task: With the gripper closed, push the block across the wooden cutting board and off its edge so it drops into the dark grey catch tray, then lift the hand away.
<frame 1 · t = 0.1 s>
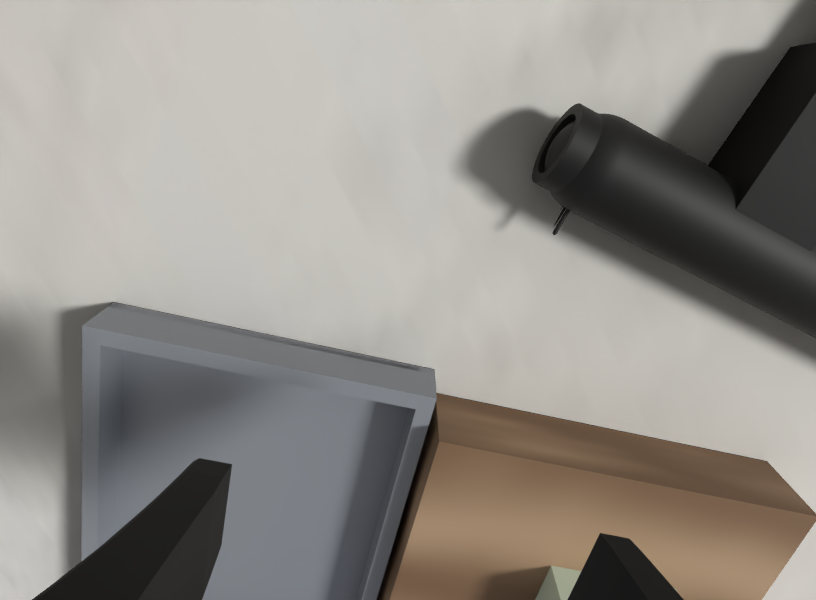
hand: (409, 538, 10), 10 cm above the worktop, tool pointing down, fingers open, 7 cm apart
wooden cutting board: (548, 554, 24), on the worktop
catch tray: (251, 500, 23), on the worktop
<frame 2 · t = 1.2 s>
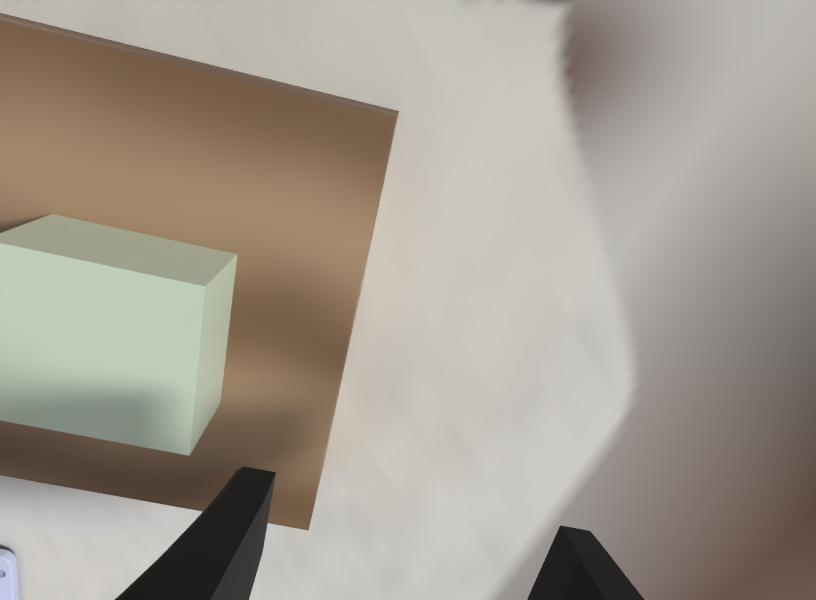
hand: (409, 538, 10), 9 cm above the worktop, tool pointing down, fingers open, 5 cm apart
wooden cutting board: (153, 273, 18), on the worktop
block: (142, 315, 16), point 3 cm above the worktop, touching wooden cutting board
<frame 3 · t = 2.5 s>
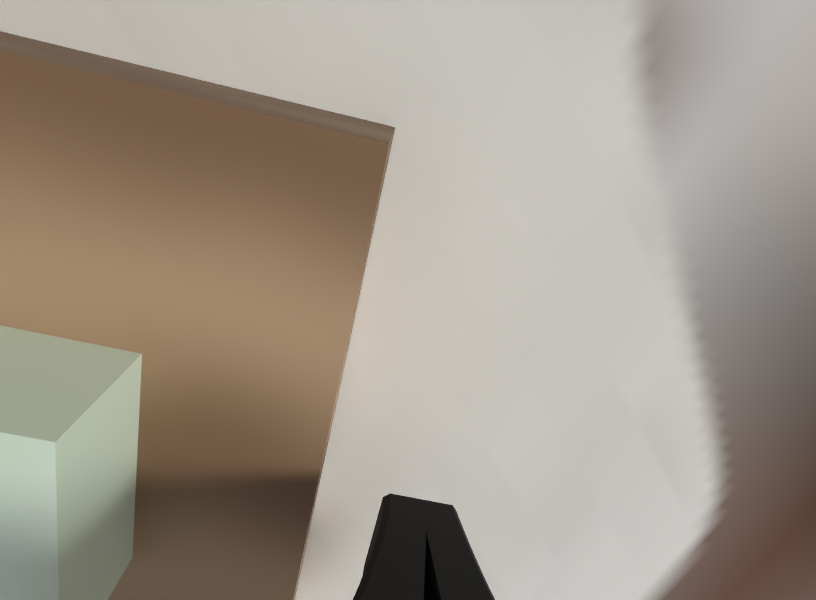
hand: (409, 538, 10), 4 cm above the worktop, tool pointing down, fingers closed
wooden cutting board: (48, 354, 13), on the worktop
block: (3, 440, 10), point 3 cm above the worktop, touching wooden cutting board
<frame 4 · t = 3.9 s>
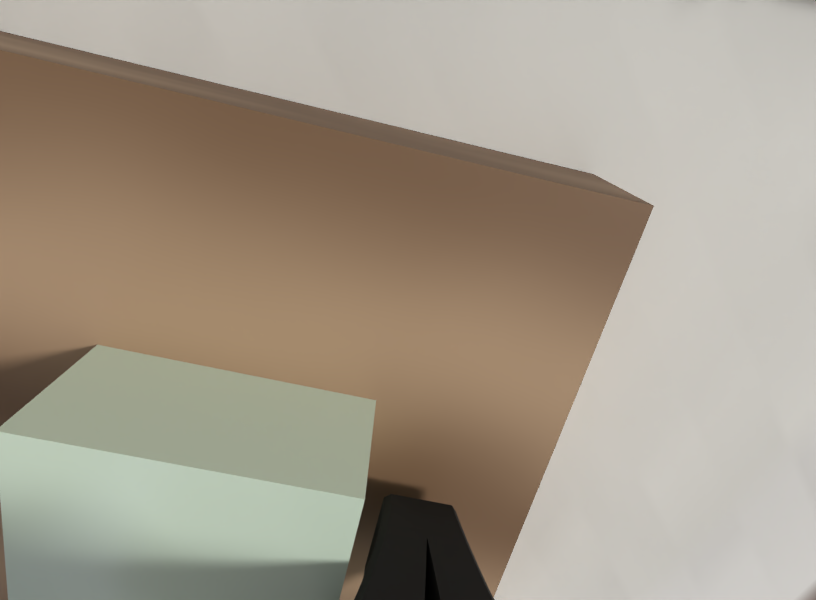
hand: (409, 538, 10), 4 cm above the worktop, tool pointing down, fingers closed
wooden cutting board: (225, 389, 13), on the worktop
block: (226, 480, 11), point 3 cm above the worktop, touching gripper, wooden cutting board
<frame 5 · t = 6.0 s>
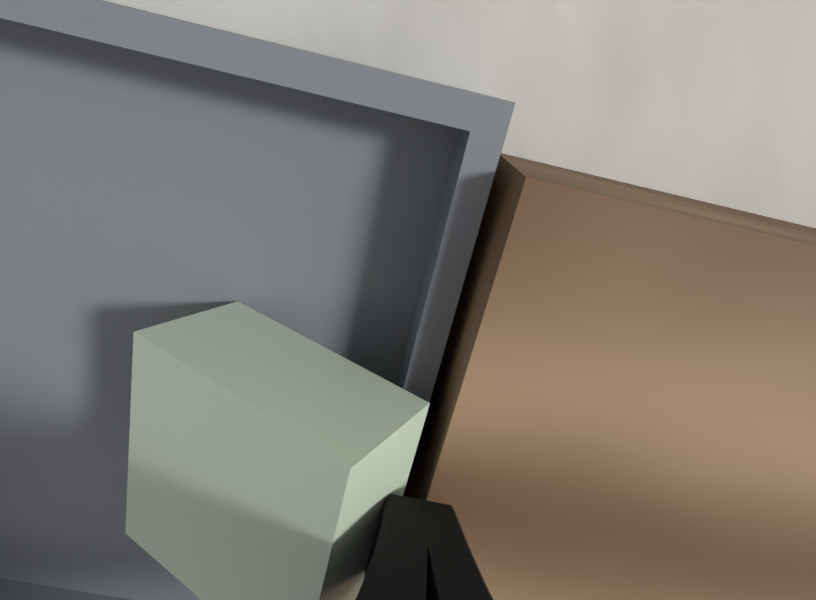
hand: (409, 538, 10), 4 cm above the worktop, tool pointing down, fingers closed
wooden cutting board: (676, 478, 14), on the worktop
catch tray: (169, 379, 13), on the worktop
block: (306, 445, 12), point 2 cm above the worktop, tilted 30°, touching gripper
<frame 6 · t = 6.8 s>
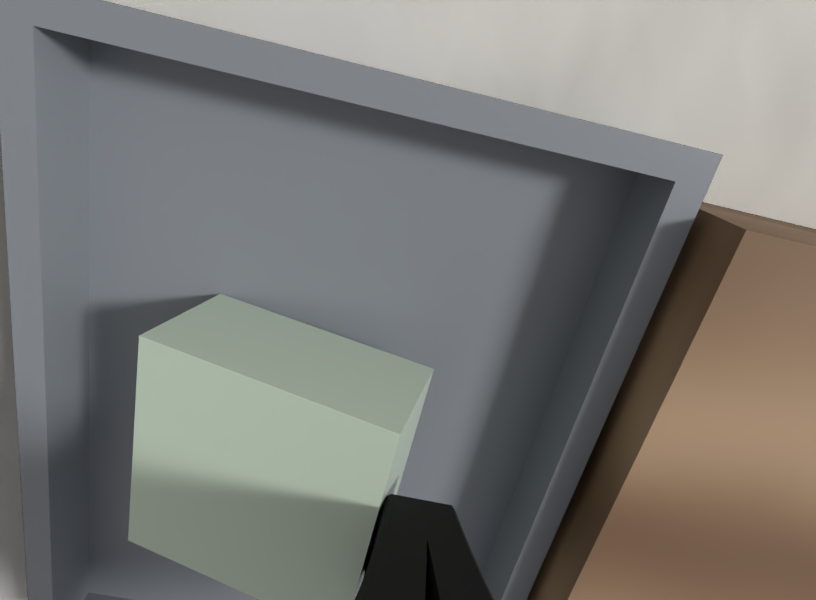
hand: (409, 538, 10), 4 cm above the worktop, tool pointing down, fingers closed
wooden cutting board: (802, 503, 15), on the worktop
catch tray: (317, 408, 13), on the worktop
block: (304, 424, 12), point 1 cm above the worktop, tilted 15°, touching catch tray, gripper
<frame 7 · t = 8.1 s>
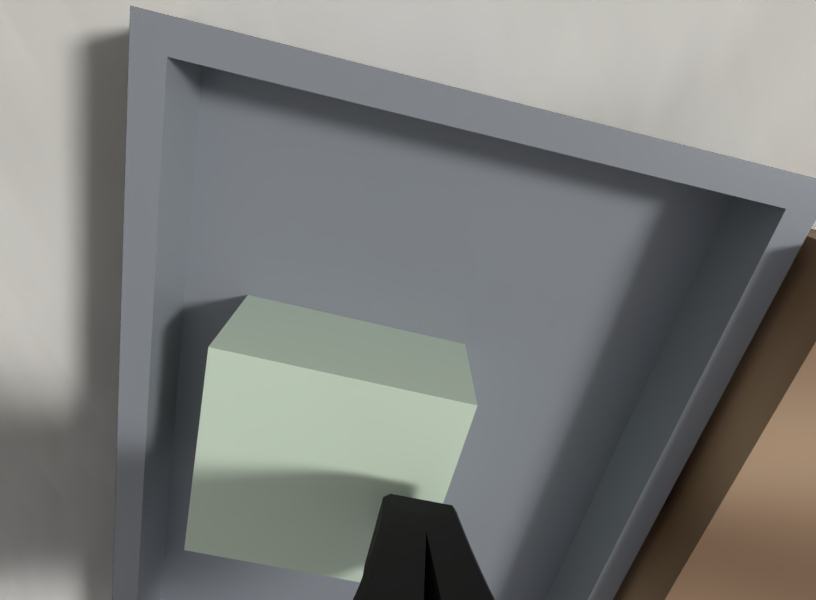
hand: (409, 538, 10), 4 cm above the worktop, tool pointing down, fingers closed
catch tray: (397, 423, 14), on the worktop
block: (337, 410, 13), resting on catch tray
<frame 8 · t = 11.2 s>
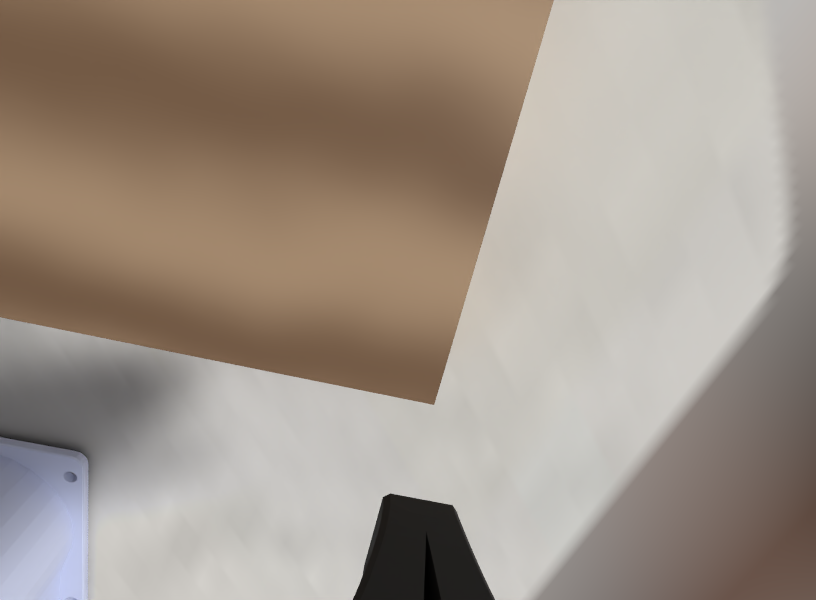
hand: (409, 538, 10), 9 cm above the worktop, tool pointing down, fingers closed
wooden cutting board: (263, 113, 16), on the worktop
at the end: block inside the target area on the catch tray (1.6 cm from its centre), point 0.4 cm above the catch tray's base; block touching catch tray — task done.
